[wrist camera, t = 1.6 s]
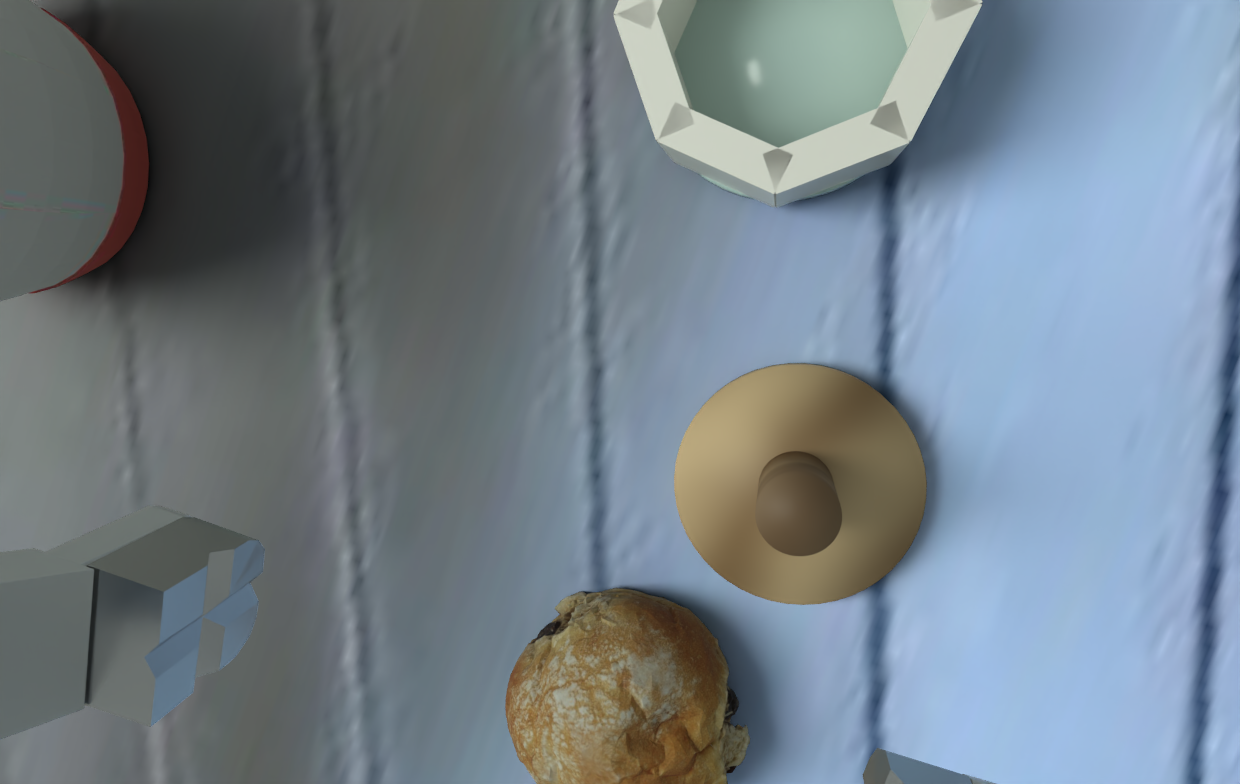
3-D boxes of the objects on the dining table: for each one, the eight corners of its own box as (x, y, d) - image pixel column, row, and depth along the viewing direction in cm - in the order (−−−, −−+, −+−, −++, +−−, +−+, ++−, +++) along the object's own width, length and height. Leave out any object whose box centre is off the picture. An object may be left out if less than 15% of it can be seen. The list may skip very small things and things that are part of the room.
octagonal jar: (994, -33, 27) (1043, -105, 22) (849, 247, 29) (863, 238, 24) (722, -139, 28) (711, -229, 23) (604, 135, 30) (572, 106, 26)
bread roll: (659, 537, 36) (565, 540, 29) (811, 711, 31) (740, 764, 24) (544, 671, 38) (432, 703, 32) (668, 854, 33) (567, 938, 27)
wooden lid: (967, 429, 29) (1006, 457, 24) (848, 634, 31) (861, 698, 26) (740, 322, 31) (733, 327, 26) (641, 525, 33) (615, 566, 28)
